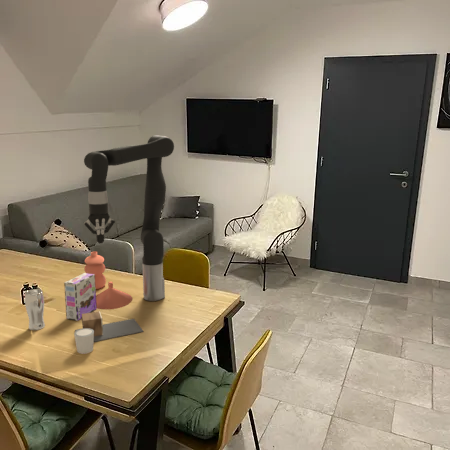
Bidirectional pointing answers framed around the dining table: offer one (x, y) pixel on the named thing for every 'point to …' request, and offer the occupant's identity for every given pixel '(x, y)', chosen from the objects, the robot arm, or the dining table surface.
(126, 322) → the placemat
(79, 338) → the shot glass
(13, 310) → the dining table surface
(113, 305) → the ceramic vessels
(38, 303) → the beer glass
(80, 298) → the candy box
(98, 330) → the walnut cube
